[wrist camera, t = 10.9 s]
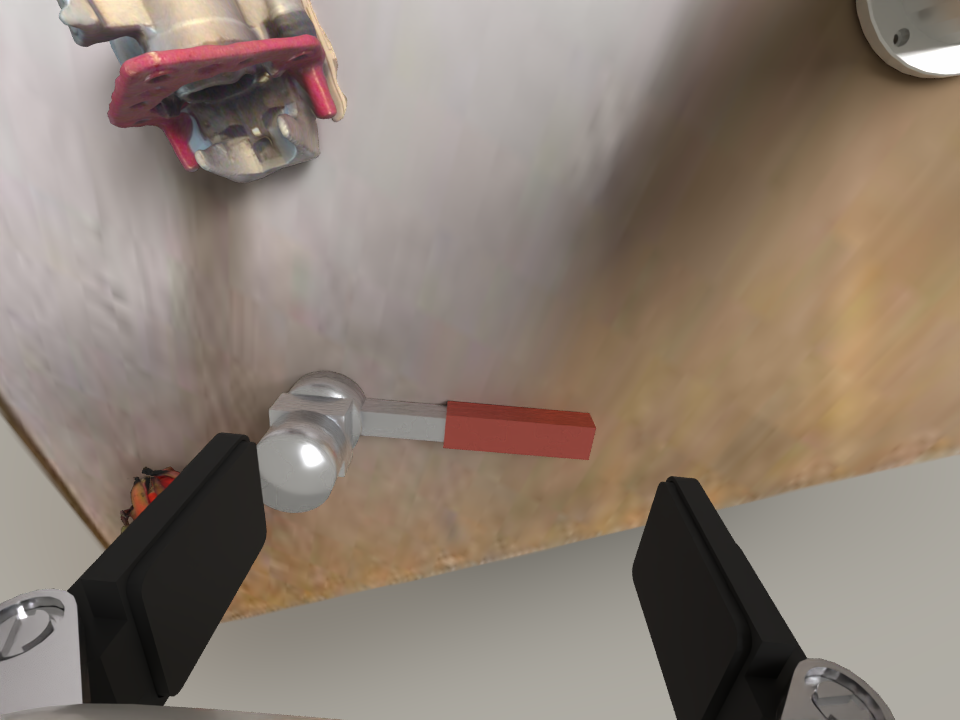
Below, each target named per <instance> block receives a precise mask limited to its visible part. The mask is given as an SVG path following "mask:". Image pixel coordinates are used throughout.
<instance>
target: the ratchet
mask: <svg viewBox="0 0 960 720" xmlns="http://www.w3.org/2000/svg"><path fill="white" fill-rule="evenodd" d="M288 393H292V394H304V395H315V396H327V397H338V398H350V399H353V448H354V447H355V445H356V444H357V442H358V439H359V437H360V435H366V436H378V437H390V438H402V439H414V440H426V441H438V442H444V446H443V448H450V449H462V450H474V451H486V452H498V453H510V454H522V455H535V456H547V457H559V458H571V459H583V460H589V456H590V452H591V447H592V443H593V439H594V435H595V430H596V427H595V425H594V423H593V420H592V418H591V416H590V414H589V413H581V412H569V411H558V410H546V409H535V408H524V407H512V406H501V405H489V404H478V403H467V402H455V401H448V403H447V405H436V404H425V403H414V402H402V401H391V400H379V399H368V398H366V397H365V395H364V393H363V391H362V390H361V388H360V387H359V386H358V385H357V384H356V383H355V382H354V381H352V380H351V379H350V378H348V377H346V376H344V375H342V374H339V373H336V372H331V371H317V372H313V373H310V374H307V375H305V376H303V377H302V378H301V379H299V380H298V381H297V382H296V383H295V385H294V386H293V387H292V388H291V390H290V391H289V392H288Z"/></svg>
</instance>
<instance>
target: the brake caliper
mask: <svg viewBox="0 0 960 720" xmlns="http://www.w3.org/2000/svg"><path fill="white" fill-rule="evenodd" d="M57 2H58V4H59V6H60V8H61V11H60V13H59V19H60V20H61V21H62V22H63V23H64V24H65V25H68V26H69V28H70V31H71V34H72V37H73V39H74V41H75V43H76V44H78V45H80V46H83V47H88V46H91V45H93V44H96V43H101V42H107V41H110V44H111V47H112V49H113V51H114V53H115V55H116V57H117V59H118V61H119V62H120V64H121V68H120V76H119V77H117V79H116V81H115V90H114V92H113V93H112V96H111V98H112V101H111V103H110V104H109V111H108V113H107V114H108V117H109V120H110V123H111V124H113V125H115V126H117V127H121V128H127V127H141V126H145V125H153V126H157V127H159V128H161V129H162V130H163V131H164V133H165V135H166V137H167V138H168V140H169V142H170V143H171V145H172V147H173V149H174V152H175V154H176V155H177V157H178V159H179V160H180V162H181V164H182V165H183V167H184V168H185V170H187V171H189V172H194V171H196V170H198V168H199V167H200V166H201V167H202V168H203V169H205V170H206V171H209V172H212V173H214V174H217V175H219V176H222V177H226V178H228V179H230V180H232V181H234V182H240V183H248V182H251V181H254V180H257V179H260V178H263V177H266V176H268V175H270V174H271V173H273V172H275V171H277V170H279V169H281V168H284V167H287V166H291V165H295V164H299V163H302V162H305V161H308V160H311V159H314V158H317V157H318V156H319V154H320V151H319V142H318V131H317V124H316V121H315V120H316V117H317V118H320V119H329V118H332V120H333V121H334V122H338V121H339V120H341V119H342V118H343V117H344V113H345V111H346V107H347V99H346V97H345V95H344V94H343V93H342V92H341V90H340V89H339V86H338V84H337V80H336V76H337V67H338V64H337V59H336V56H335V53H334V51H333V48H332V46H331V43H330V41H329V40H328V38H327V36H326V34H325V33H324V31H323V29H322V28H321V27H320V25H319V23H318V20H317V18H316V16H315V13H314V12H313V10H312V6H311V3H310V0H57Z"/></svg>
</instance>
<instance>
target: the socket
mask: <svg viewBox="0 0 960 720" xmlns="http://www.w3.org/2000/svg"><path fill="white" fill-rule="evenodd" d="M269 420H270V428H269V430H268V431H267V432H266V434H265V435H264V436H263V438H262V439H261V440H260V442H259V443H258V444H257V446H256V447H257V454H258V462H259V471H260V479H261V487H262V496H263V503H264V504H265V505H267V506H269V507H271V508H273V509H276V510H279V511H283V512H290V513H300V512H306V511H310V510H313V509H315V508H317V507H318V506H320V505H321V504H323V503H324V502H325V501H326V500H327V498H328V497H329V495H330V493H331V491H332V488H333V486H334V484H335V481H336V479H337V476H339V477H345V475H346V472H347V470H348V467H349V465H350V462H351V460H352V457H353V399H350V398H338V397H327V396H315V395H304V394H292V393H282V394H281V395H280V396H279V398H278V399H277V400H276V401H275V403H274V404H273V405H272V406H271V408H270V409H269Z"/></svg>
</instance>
